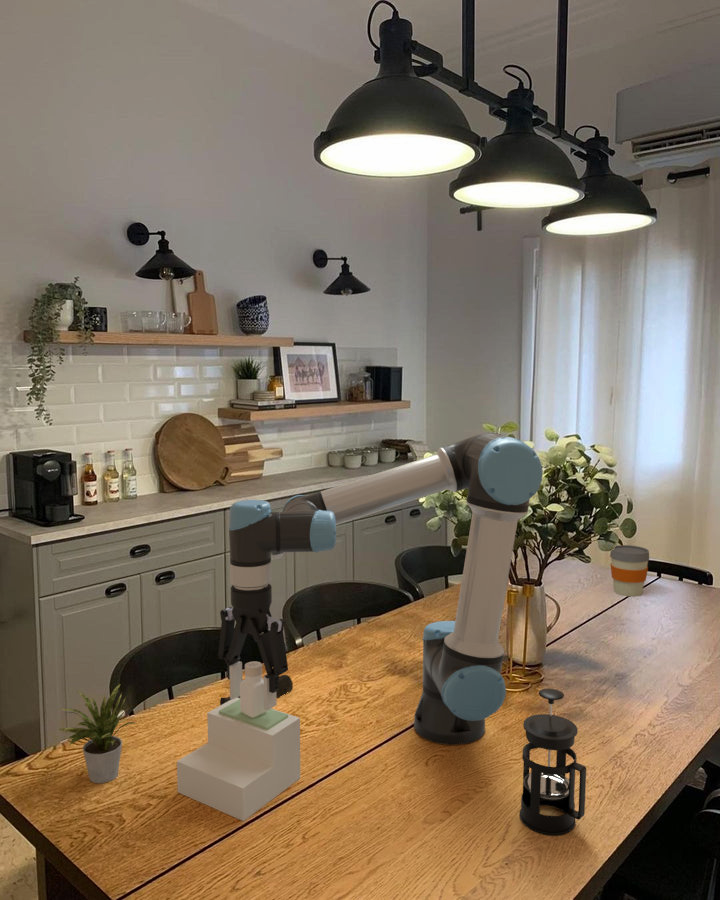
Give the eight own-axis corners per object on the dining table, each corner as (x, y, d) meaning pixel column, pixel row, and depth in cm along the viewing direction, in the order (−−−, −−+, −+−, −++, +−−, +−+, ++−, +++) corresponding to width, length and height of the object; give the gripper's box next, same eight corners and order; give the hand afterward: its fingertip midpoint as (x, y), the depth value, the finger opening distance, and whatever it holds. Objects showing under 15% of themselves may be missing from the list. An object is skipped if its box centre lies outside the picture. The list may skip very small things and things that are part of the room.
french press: (505, 818, 130) (508, 691, 127) (533, 795, 136) (537, 674, 134) (568, 848, 122) (573, 713, 119) (594, 822, 128) (599, 694, 126)
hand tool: (227, 719, 166) (227, 699, 165) (219, 712, 169) (218, 692, 168) (298, 695, 178) (298, 676, 177) (289, 689, 181) (289, 671, 180)
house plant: (82, 752, 151) (79, 674, 149) (150, 753, 151) (147, 675, 149) (51, 792, 137) (47, 707, 135) (126, 794, 137) (123, 708, 135)
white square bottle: (255, 705, 144) (255, 658, 143) (269, 712, 142) (268, 664, 140) (239, 712, 141) (238, 664, 140) (252, 719, 139) (251, 670, 137)
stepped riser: (300, 777, 142) (299, 715, 140) (243, 821, 129) (242, 752, 127) (237, 753, 151) (235, 694, 149) (177, 792, 137) (175, 727, 136)
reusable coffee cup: (611, 597, 251) (613, 553, 249) (605, 586, 263) (607, 544, 261) (651, 599, 249) (653, 555, 247) (643, 587, 261) (645, 545, 259)
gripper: (307, 588, 136) (308, 707, 139) (223, 571, 147) (226, 682, 150) (281, 599, 130) (283, 724, 133) (196, 580, 141) (199, 696, 144)
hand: (253, 701), depth 141 cm, fingers open, 8 cm apart
